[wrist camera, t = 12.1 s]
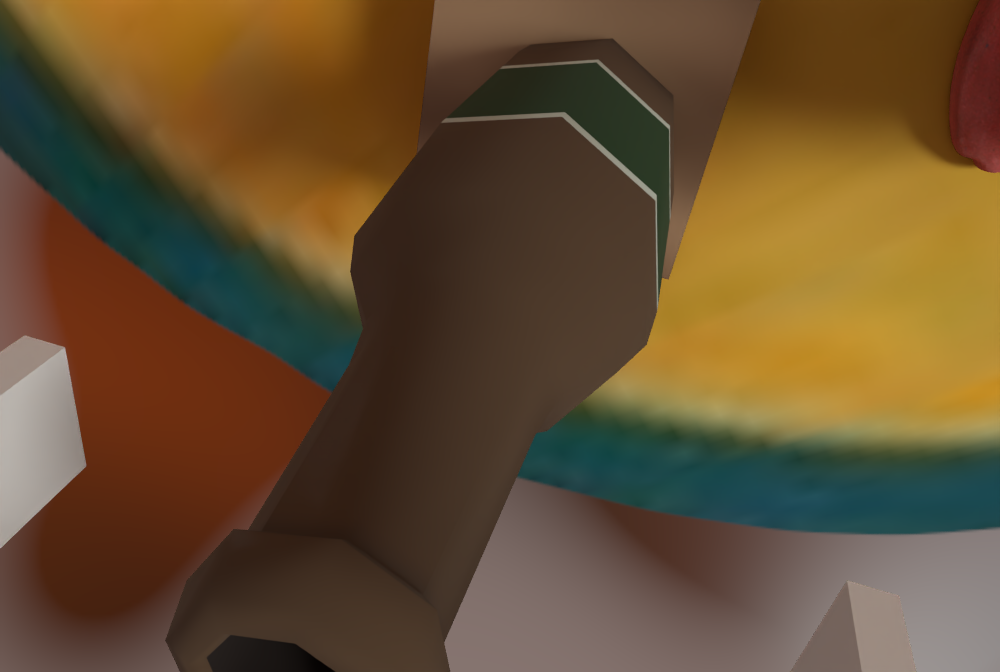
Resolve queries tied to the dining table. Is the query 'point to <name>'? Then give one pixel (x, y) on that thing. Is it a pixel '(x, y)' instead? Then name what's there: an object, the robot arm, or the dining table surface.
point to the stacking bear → (978, 90)
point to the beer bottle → (452, 368)
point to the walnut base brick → (590, 16)
